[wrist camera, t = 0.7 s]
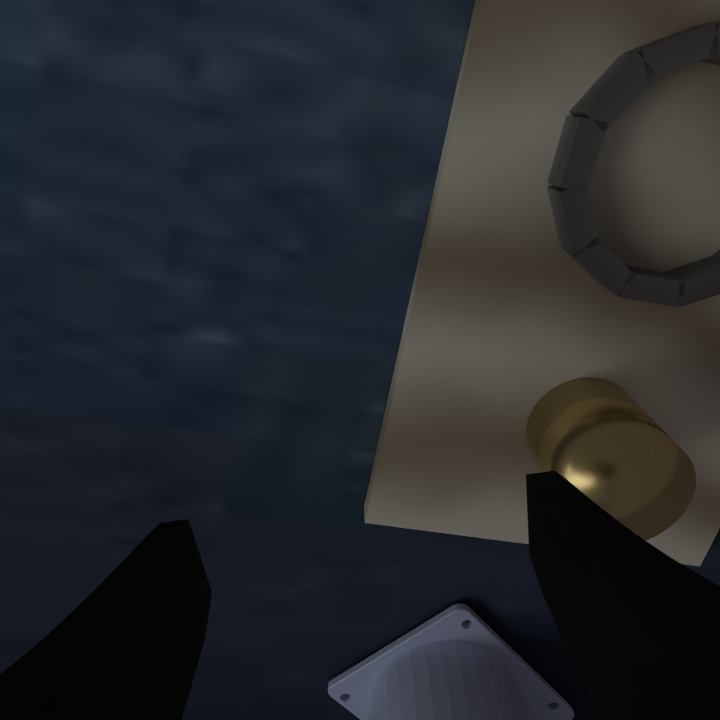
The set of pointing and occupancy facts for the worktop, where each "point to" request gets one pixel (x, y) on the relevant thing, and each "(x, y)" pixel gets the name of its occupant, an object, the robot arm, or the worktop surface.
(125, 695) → the robot arm
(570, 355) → the jig board
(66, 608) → the worktop surface
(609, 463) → the brass fitting
